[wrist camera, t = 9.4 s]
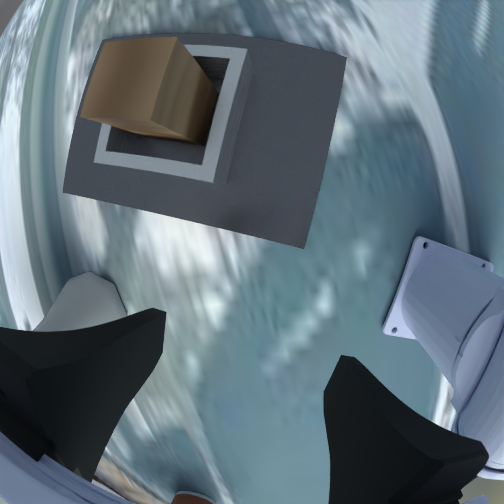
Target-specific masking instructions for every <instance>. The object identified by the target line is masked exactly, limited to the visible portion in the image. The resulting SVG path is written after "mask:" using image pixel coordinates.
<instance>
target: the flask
mask: <svg viewBox="0 0 504 504" xmlns="http://www.w3.org/2000/svg"><path fill="white" fill-rule="evenodd" d="M126 316H127V314H126V311H125V309H124V307H123V304H122V302H121V299H120V297H119V295H118V292H117V290H116V287H115V284H113V283H111V282H109V281H107V280H105V279H103V278H101V277H99V276H97V275H95V274H93V273H92V272H90V271H89V272H86V273H83V274H80V275H77V276H74V277H72V278H70V279H69V280H68V281H67V283H66V284H65V286H64V287H63V289H62V291H61V292H60V294H59V295H58V297H57V299H56V300H55V302H54V303H53V305H52V306H51V308H50V309H49V311H48V312H47V314H46V316H45V317H44V319H43V320H42V321H41V322H40V324H39V325H38V326H37V327H36V328H35V329H34V330H33V331H39V332H51V331H66V330H75V329H81V328H87V327H92V326H96V325H100V324H103V323H107V322H111V321H114V320H117V319H120V318H123V317H126Z"/></svg>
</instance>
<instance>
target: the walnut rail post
mask: <svg viewBox="0 0 504 504" xmlns="http://www.w3.org/2000/svg"><path fill="white" fill-rule="evenodd" d="M217 93H218V91H217V89H216V88H215V87H214V85H213V84H212V82H211V81H210V80H209V78H208V77H207V75H206V74H205V73H204V71H203V70H202V69H201V67H200V66H199V64H198V63H197V62H196V60H195V59H194V58H193V56H192V55H191V54H190V52H189V51H188V50H187V48H186V47H185V46H184V44H183V43H182V42H181V41H180V39H179V38H178V37H153V38H138V39H127V40H118V41H110V42H105V44H104V46H103V49H102V51H101V54H100V56H99V59H98V61H97V64H96V67H95V70H94V72H93V75H92V78H91V81H90V84H89V87H88V90H87V94H86V97H85V100H84V104H83V107H82V111H81V115H80V117H82V118H86V119H89V120H93V121H97V122H100V123H104V124H107V125H110V126H114V127H117V128H120V129H124V130H127V131H130V132H133V133H136V134H140V135H143V136H146V137H149V138H153V139H161V140H168V141H175V142H182V143H188V144H194V145H200V146H204V142H205V138H206V134H207V130H208V126H209V122H210V118H211V115H212V111H213V107H214V104H215V100H216V96H217Z"/></svg>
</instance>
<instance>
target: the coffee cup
mask: <svg viewBox="0 0 504 504" xmlns="http://www.w3.org/2000/svg"><path fill="white" fill-rule="evenodd" d="M215 503H216V502H215V501H214V500H213V499H211V498H209V497H208V496H205V495H203V494H200V493H196V492H192V491H178V492H177V493H176V494H175V497H174V499H173V501H172V503H171V504H215Z"/></svg>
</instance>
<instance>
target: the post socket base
mask: <svg viewBox="0 0 504 504" xmlns="http://www.w3.org/2000/svg"><path fill="white" fill-rule="evenodd" d="M153 37H178V38H179V39H180V41H181V42H182V43H183V44H184V46H185V47H186V48H187V50H188V51H189V52H190V54H191V55H192V56H193V58H194V59H195V60H196V62H197V63H198V64H199V66H200V67H201V69H202V70H203V71H204V73H205V74H206V75H207V77H208V78H209V80H210V81H211V82H212V84H213V85H214V87H215V88H216V89H217V91H218V93H217V96H216V100H215V104H214V107H213V111H212V115H211V118H210V122H209V126H208V130H207V134H206V138H205V142H204V146H200V145H194V144H188V143H182V142H175V141H168V140H161V139H153V138H149V137H146V136H143V135H140V134H136V133H133V132H130V131H127V130H124V129H120V128H117V127H114V126H110V125H107V124H104V123H100V122H97V121H93V120H89V119H86V118H82V117H80V115H81V111H82V107H83V104H84V100H85V97H86V94H87V90H88V87H89V84H90V81H91V78H92V75H93V72H94V70H95V67H96V64H97V61H98V59H99V56H100V54H101V51H102V49H103V46H104V44H105V42H110V41H118V40H127V39H138V38H153ZM346 59H347V57H344V56H341V55H338V54H334V53H330V52H327V51H323V50H319V49H315V48H311V47H306V46H302V45H297V44H292V43H287V42H281V41H275V40H269V39H262V38H255V37H247V36H237V35H225V34H207V33H165V34H147V35H136V36H126V37H118V38H111V39H105V40H102V42H101V45H100V47H99V50H98V52H97V55H96V57H95V60H94V63H93V65H92V68H91V71H90V74H89V77H88V80H87V83H86V86H85V89H84V92H83V96H82V99H81V103H80V106H79V110H78V114H77V117H76V121H75V126H74V130H73V134H72V139H71V144H70V149H69V154H68V159H67V165H66V172H65V178H64V186H63V193H68V194H72V195H77V196H82V197H86V198H91V199H96V200H100V201H105V202H109V203H114V204H118V205H123V206H127V207H132V208H136V209H140V210H145V211H149V212H153V213H158V214H162V215H166V216H171V217H175V218H179V219H184V220H188V221H192V222H196V223H201V224H205V225H209V226H213V227H217V228H222V229H226V230H230V231H234V232H238V233H242V234H246V235H250V236H254V237H258V238H262V239H267V240H271V241H275V242H279V243H283V244H287V245H291V246H294V247H298V248H302V249H304V247H305V243H306V240H307V236H308V232H309V228H310V225H311V221H312V217H313V213H314V209H315V205H316V201H317V197H318V193H319V189H320V185H321V181H322V177H323V172H324V168H325V164H326V159H327V155H328V150H329V146H330V141H331V137H332V132H333V127H334V123H335V118H336V113H337V108H338V103H339V98H340V92H341V87H342V82H343V76H344V70H345V65H346Z"/></svg>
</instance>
